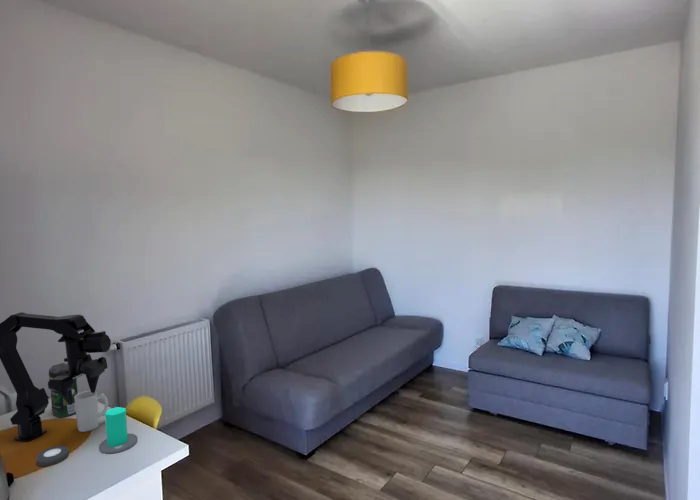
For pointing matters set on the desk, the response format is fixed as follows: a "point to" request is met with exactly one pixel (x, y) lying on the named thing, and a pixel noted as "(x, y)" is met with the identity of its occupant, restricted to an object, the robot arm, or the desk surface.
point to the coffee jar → (57, 401)
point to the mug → (88, 410)
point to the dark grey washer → (52, 456)
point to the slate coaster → (111, 450)
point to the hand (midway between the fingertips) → (82, 398)
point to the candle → (116, 426)
